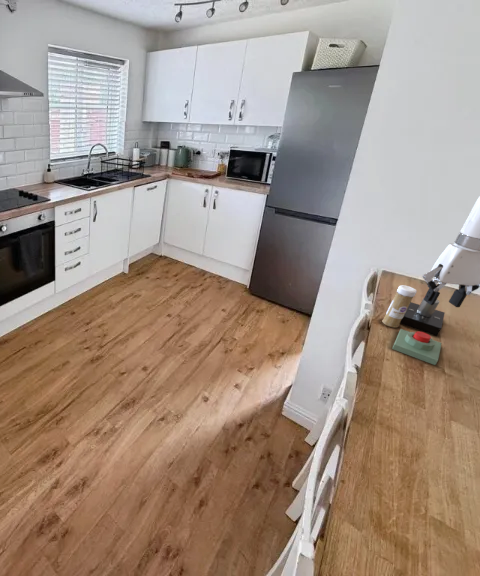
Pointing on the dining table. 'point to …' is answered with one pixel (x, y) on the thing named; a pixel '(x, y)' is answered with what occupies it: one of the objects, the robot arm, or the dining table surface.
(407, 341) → the button box
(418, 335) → the button
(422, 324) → the panel
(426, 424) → the dining table surface
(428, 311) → the dial
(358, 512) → the dining table surface
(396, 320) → the sprinkles bottle
